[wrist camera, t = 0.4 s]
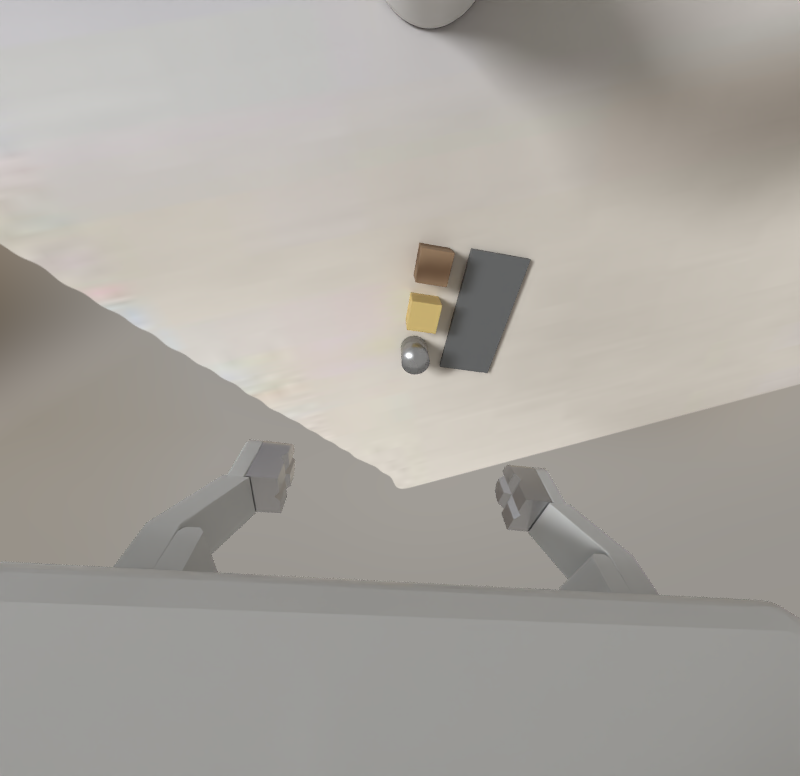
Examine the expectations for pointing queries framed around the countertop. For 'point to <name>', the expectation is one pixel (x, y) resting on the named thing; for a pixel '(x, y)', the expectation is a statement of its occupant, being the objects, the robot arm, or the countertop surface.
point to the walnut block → (433, 265)
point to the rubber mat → (482, 309)
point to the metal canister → (414, 355)
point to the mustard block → (423, 313)
